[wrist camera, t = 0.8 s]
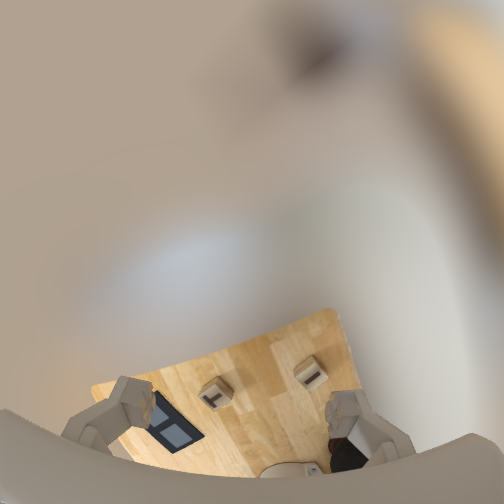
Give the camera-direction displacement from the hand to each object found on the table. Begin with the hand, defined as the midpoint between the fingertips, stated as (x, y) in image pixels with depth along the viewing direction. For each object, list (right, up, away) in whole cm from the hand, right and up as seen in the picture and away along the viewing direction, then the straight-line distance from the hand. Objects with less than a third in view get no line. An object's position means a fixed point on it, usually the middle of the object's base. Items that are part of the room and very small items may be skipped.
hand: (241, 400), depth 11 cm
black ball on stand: (+25, -40, +42) cm, 62 cm away
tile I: (+13, -18, +42) cm, 48 cm away
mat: (-20, -35, +44) cm, 60 cm away
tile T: (-7, -23, +43) cm, 50 cm away
